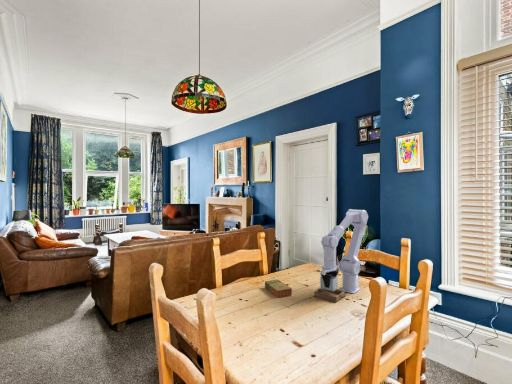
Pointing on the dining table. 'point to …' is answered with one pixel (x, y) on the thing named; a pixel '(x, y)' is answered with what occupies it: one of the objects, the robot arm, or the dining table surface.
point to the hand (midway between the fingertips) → (329, 285)
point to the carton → (278, 288)
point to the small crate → (332, 286)
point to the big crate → (329, 295)
